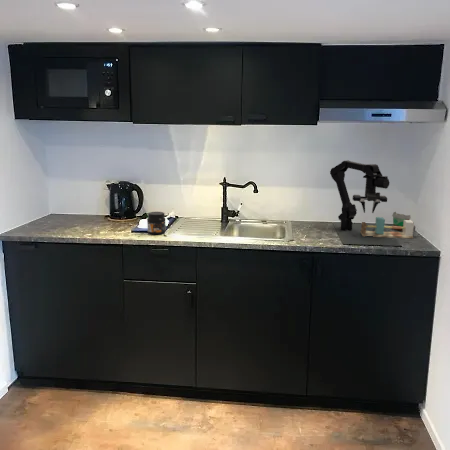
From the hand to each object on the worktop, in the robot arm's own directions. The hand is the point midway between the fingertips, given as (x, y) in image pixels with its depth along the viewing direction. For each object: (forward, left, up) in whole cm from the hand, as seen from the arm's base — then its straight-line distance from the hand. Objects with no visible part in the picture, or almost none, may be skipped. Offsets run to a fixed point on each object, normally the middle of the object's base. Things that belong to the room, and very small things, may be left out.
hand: (368, 212), depth 276 cm
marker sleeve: (+7, 0, -11) cm, 13 cm away
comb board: (+11, 0, -13) cm, 17 cm away
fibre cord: (+10, 0, -9) cm, 13 cm away
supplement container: (-122, -19, -13) cm, 124 cm away
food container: (+21, +16, -13) cm, 30 cm away
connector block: (+24, 0, -12) cm, 27 cm away
